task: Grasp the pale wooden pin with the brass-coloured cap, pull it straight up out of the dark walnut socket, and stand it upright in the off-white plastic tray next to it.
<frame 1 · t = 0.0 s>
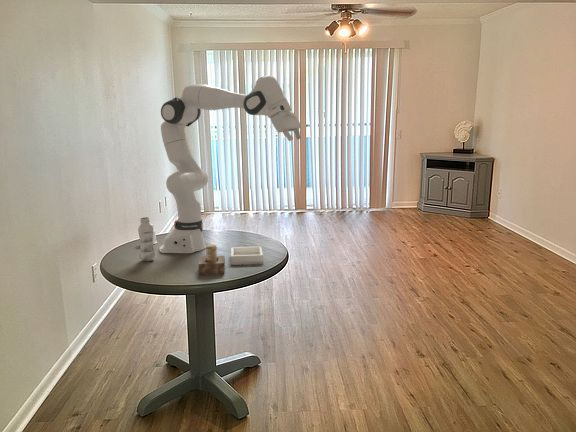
hand: (295, 139, 204), 54 cm above the table, tool tilted 30°, fingers open, 8 cm apart
plastic bottle: (147, 261, 217), on the table
pin: (212, 271, 203), resting in socket
tray: (246, 259, 218), on the table
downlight: (150, 243, 246), on the table
socket: (212, 270, 203), on the table
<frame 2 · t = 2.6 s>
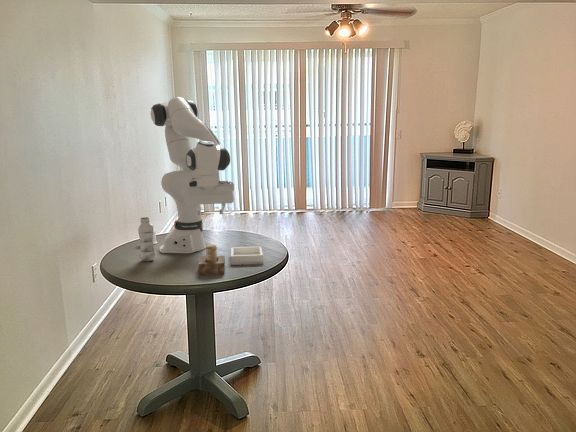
hand: (209, 214, 198), 25 cm above the table, tool pointing down, fingers open, 8 cm apart
nothing on the table moved.
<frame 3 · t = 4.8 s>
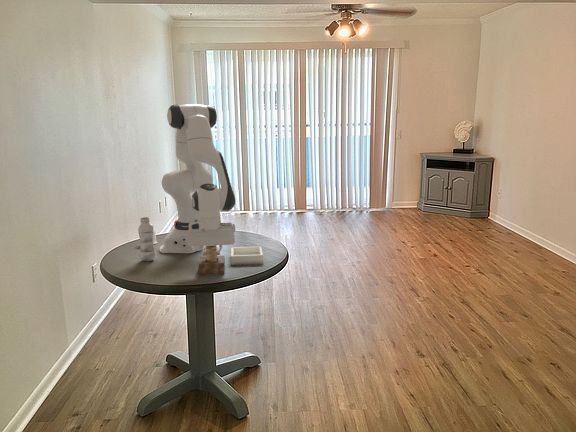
hand: (211, 255, 201), 7 cm above the table, tool pointing down, fingers closed on pin, 4 cm apart
pin: (212, 271, 203), resting in socket, touching gripper
everything else where it was.
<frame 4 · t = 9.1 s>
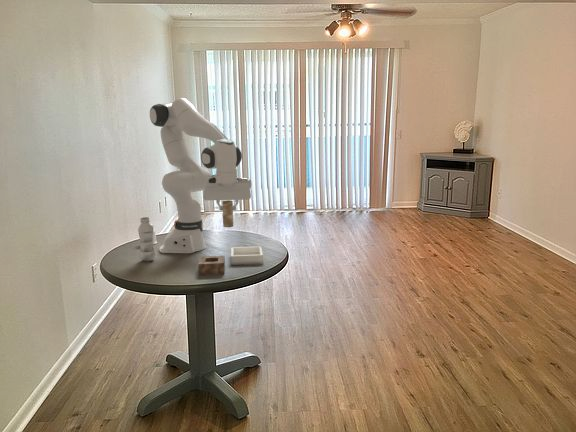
hand: (227, 210, 205), 25 cm above the table, tool pointing down, fingers closed on pin, 4 cm apart
pin: (228, 226, 207), point 18 cm above the table, touching gripper
everything else where it was.
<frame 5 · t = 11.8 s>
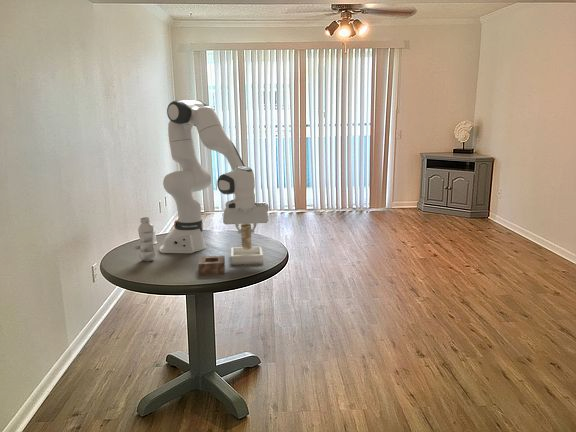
hand: (246, 233, 215), 13 cm above the table, tool pointing down, fingers closed on pin, 4 cm apart
pin: (246, 248, 217), point 5 cm above the table, touching gripper
everything else where it was.
when the fingers open (9 cm above the table, at t = 13.9 s): pin stays where it is, resting on tray.
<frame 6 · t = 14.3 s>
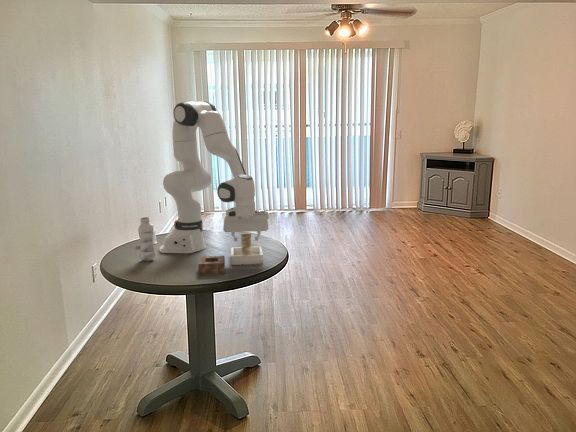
hand: (246, 240, 216), 9 cm above the table, tool pointing down, fingers open, 8 cm apart
pin: (246, 257, 218), point 1 cm above the table, touching tray
everything else where it was.
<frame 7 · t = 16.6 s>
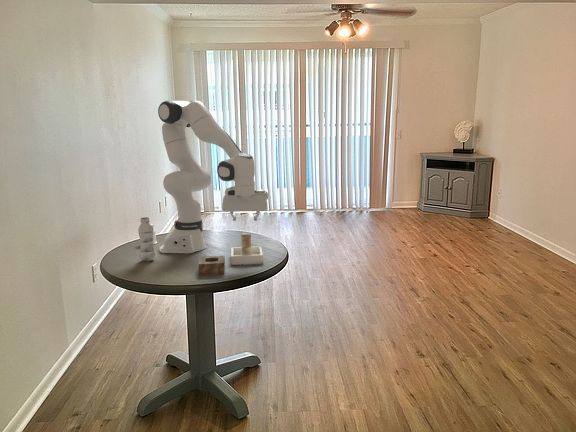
hand: (245, 220, 214), 18 cm above the table, tool pointing down, fingers open, 8 cm apart
nothing on the table moved.
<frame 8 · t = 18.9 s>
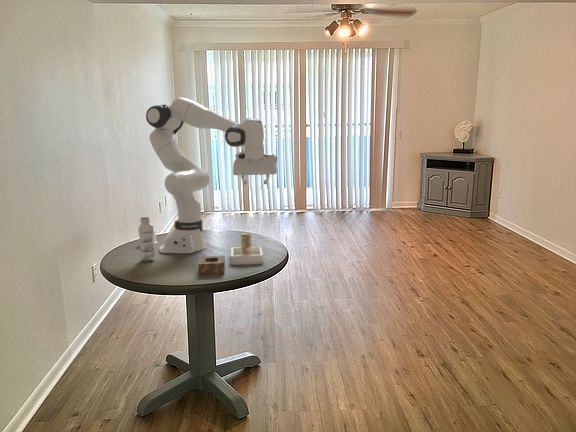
hand: (255, 184, 221), 33 cm above the table, tool pointing down, fingers open, 8 cm apart
nothing on the table moved.
at the end: pin inside the target area on the tray (0.1 cm from its centre), point 1.0 cm above the tray's base; pin tilted 0°; the gripper is holding nothing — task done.
